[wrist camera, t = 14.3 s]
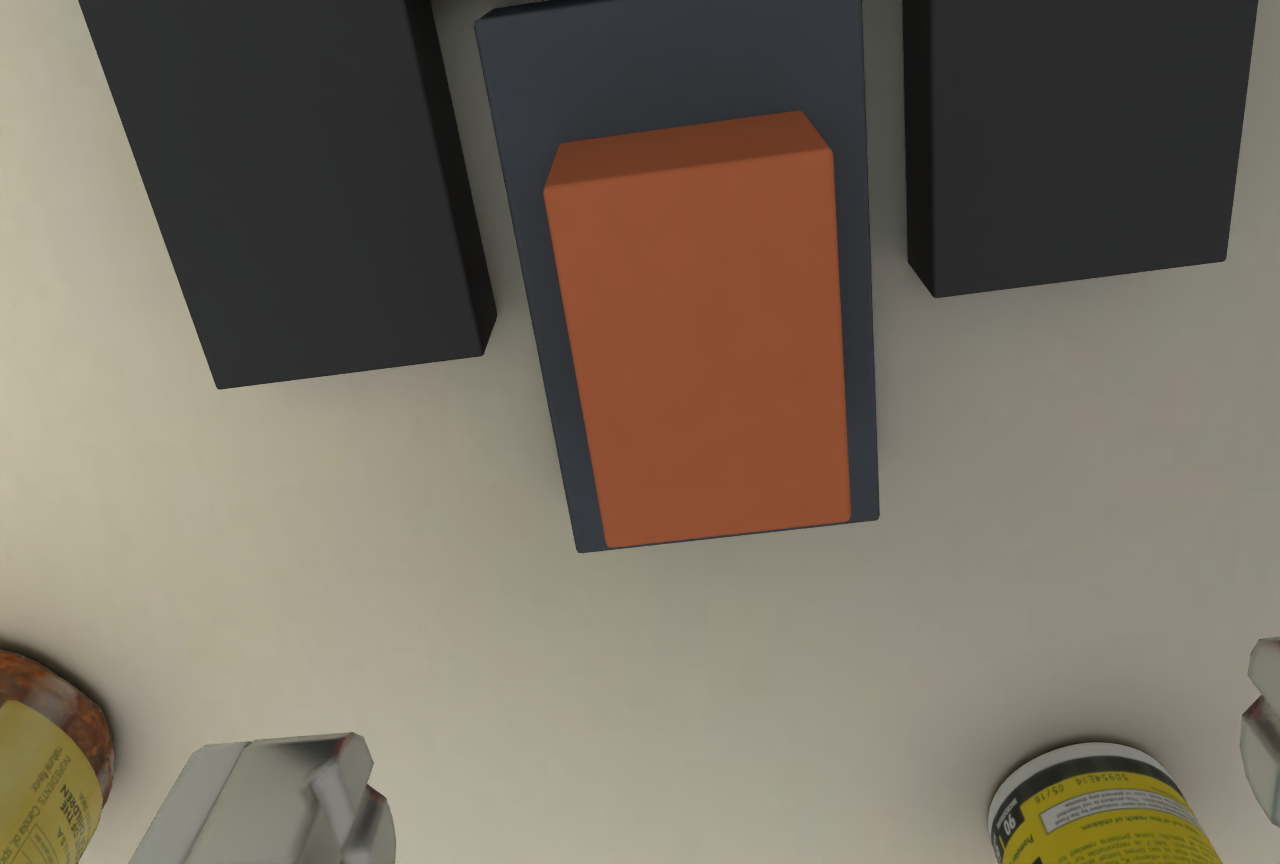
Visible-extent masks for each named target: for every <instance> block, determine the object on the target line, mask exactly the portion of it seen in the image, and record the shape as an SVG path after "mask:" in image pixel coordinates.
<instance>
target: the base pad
mask: <svg viewBox="0 0 1280 864" xmlns="http://www.w3.org/2000/svg"><path fill="white" fill-rule="evenodd" d="M78 1H79V4H80V7H81V9H82V12H83V15H84V18H85V21H86V23H87V26H88V29H89V32H90V35H91V37H92V40H93V43H94V46H95V49H96V51H97V54H98V57H99V60H100V63H101V65H102V68H103V71H104V74H105V77H106V79H107V82H108V85H109V88H110V91H111V93H112V96H113V99H114V102H115V105H116V107H117V110H118V113H119V116H120V119H121V121H122V124H123V127H124V130H125V133H126V135H127V138H128V141H129V144H130V147H131V149H132V152H133V155H134V158H135V161H136V163H137V166H138V169H139V172H140V175H141V177H142V180H143V183H144V186H145V189H146V191H147V194H148V197H149V200H150V203H151V205H152V208H153V211H154V214H155V217H156V219H157V222H158V225H159V228H160V231H161V233H162V236H163V239H164V242H165V245H166V247H167V250H168V253H169V256H170V259H171V261H172V264H173V267H174V270H175V273H176V275H177V278H178V281H179V284H180V287H181V289H182V292H183V295H184V298H185V300H186V303H187V306H188V309H189V312H190V314H191V317H192V320H193V323H194V326H195V328H196V331H197V334H198V337H199V340H200V342H201V345H202V348H203V351H204V354H205V356H206V359H207V362H208V365H209V368H210V370H211V373H212V376H213V379H214V382H215V384H216V387H217V389H227V388H235V387H243V386H251V385H258V384H266V383H274V382H282V381H290V380H298V379H306V378H313V377H321V376H329V375H337V374H345V373H353V372H361V371H368V370H376V369H384V368H392V367H400V366H408V365H416V364H423V363H431V362H439V361H447V360H455V359H463V358H471V357H478V356H482V355H483V354H484V352H485V349H486V346H487V343H488V340H489V338H490V335H491V332H492V329H493V327H494V324H495V321H496V318H497V313H496V308H495V303H494V299H493V294H492V289H491V285H490V280H489V275H488V271H487V266H486V261H485V257H484V252H483V247H482V243H481V238H480V233H479V228H478V224H477V219H476V214H475V210H474V205H473V200H472V196H471V191H470V186H469V182H468V177H467V172H466V168H465V163H464V158H463V154H462V149H461V144H460V140H459V135H458V130H457V126H456V121H455V116H454V111H453V107H452V102H451V97H450V93H449V88H448V83H447V79H446V74H445V69H444V65H443V60H442V55H441V51H440V46H439V41H438V37H437V32H436V27H435V23H434V18H433V13H432V9H431V4H430V0H78ZM1257 6H1258V0H903V36H904V85H905V134H906V182H907V231H908V263H909V265H910V266H911V267H912V269H913V270H914V271H915V273H916V274H917V275H918V277H919V278H920V280H921V281H922V282H923V284H924V285H925V286H926V288H927V289H928V290H929V292H930V293H931V295H932V296H933V297H935V298H941V297H948V296H956V295H964V294H972V293H980V292H988V291H995V290H1003V289H1011V288H1019V287H1027V286H1035V285H1043V284H1050V283H1058V282H1066V281H1074V280H1082V279H1090V278H1098V277H1105V276H1113V275H1121V274H1129V273H1137V272H1145V271H1153V270H1160V269H1168V268H1176V267H1184V266H1192V265H1200V264H1208V263H1215V262H1223V261H1225V259H1226V255H1227V247H1228V239H1229V231H1230V223H1231V215H1232V207H1233V199H1234V191H1235V183H1236V175H1237V167H1238V159H1239V151H1240V143H1241V134H1242V126H1243V118H1244V110H1245V102H1246V94H1247V86H1248V78H1249V70H1250V62H1251V54H1252V46H1253V38H1254V30H1255V22H1256V14H1257Z"/></svg>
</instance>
